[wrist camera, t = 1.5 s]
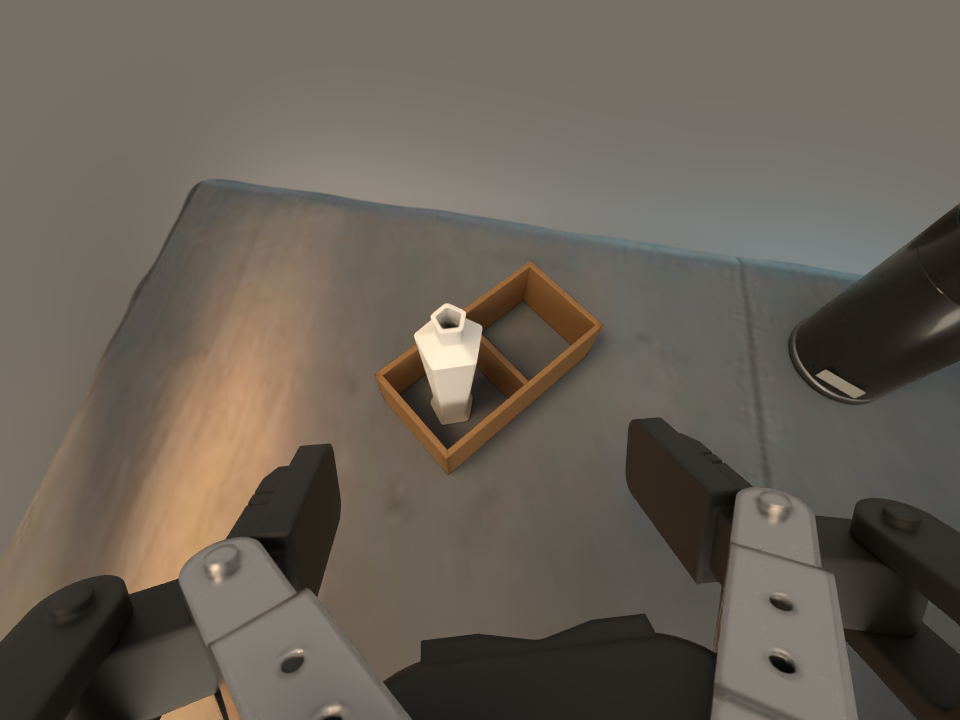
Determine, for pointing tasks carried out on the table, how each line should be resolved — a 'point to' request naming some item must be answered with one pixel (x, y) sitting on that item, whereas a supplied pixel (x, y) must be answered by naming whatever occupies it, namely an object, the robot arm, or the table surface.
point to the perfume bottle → (450, 361)
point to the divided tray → (497, 360)
